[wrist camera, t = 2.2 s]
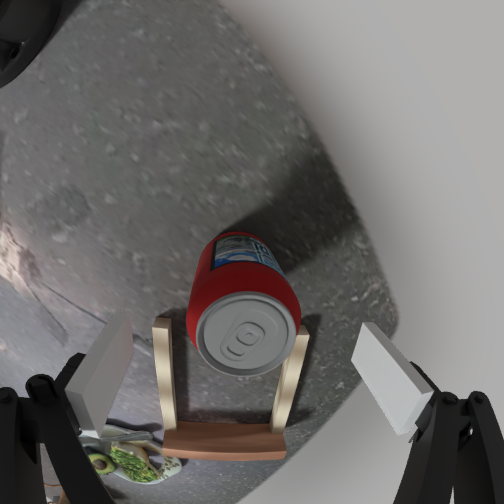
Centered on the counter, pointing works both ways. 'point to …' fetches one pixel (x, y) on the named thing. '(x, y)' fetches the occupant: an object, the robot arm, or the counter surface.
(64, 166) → the counter surface
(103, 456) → the avocado toast plate
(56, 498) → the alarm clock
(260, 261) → the beverage can
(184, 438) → the guide channel
